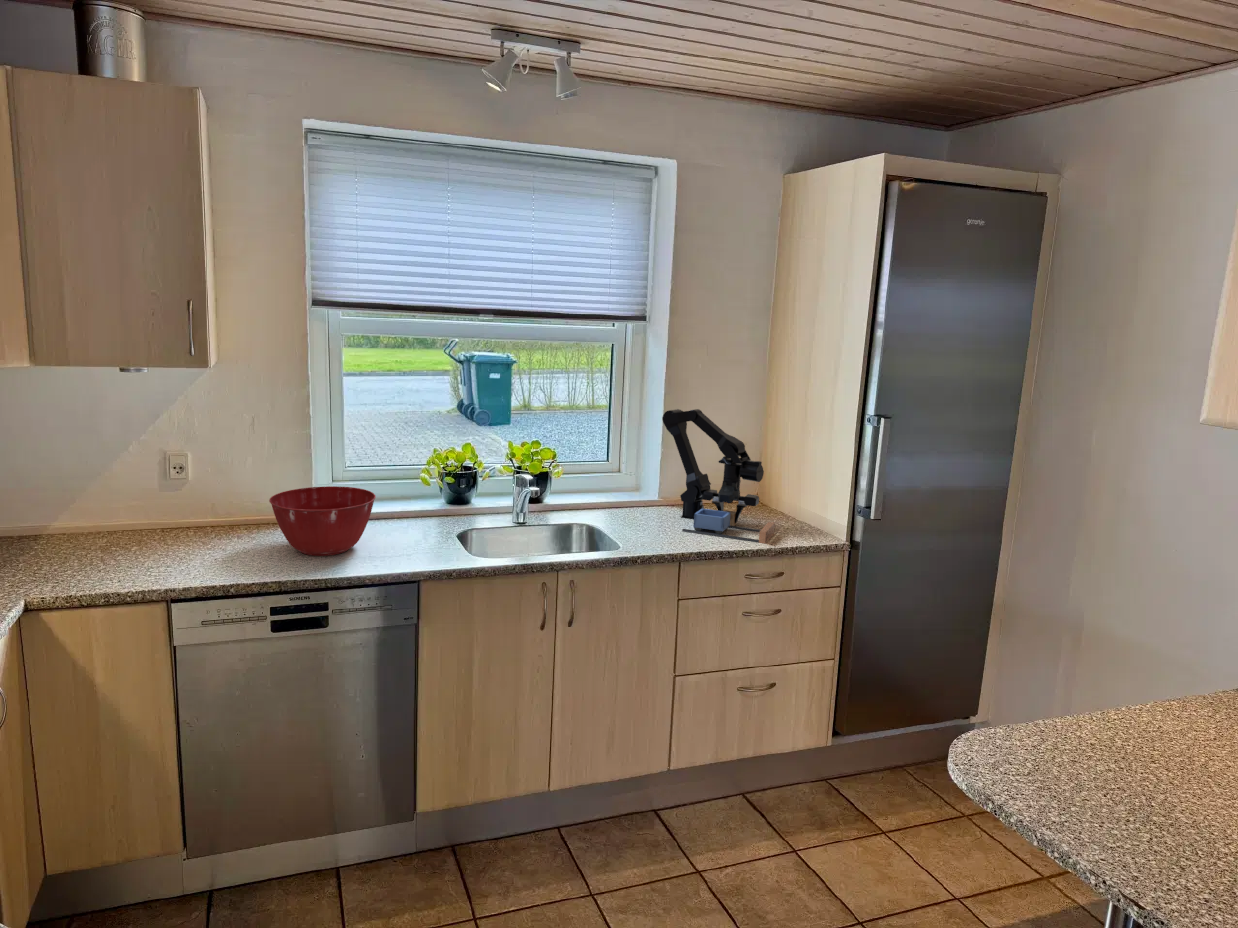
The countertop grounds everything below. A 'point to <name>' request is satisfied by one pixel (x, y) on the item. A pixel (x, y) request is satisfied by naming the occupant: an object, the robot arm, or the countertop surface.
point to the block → (732, 517)
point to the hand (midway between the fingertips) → (728, 522)
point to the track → (764, 532)
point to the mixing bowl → (323, 517)
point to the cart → (711, 520)
